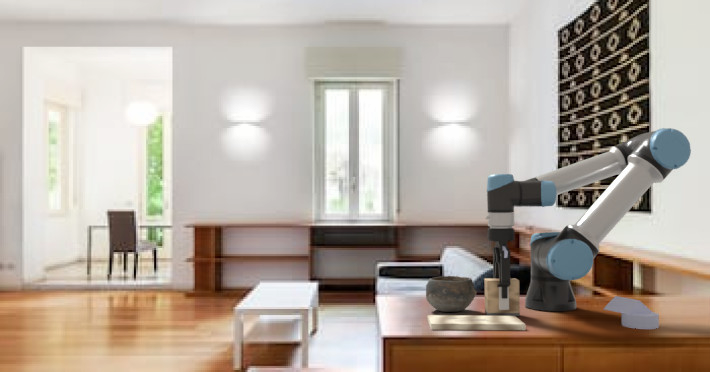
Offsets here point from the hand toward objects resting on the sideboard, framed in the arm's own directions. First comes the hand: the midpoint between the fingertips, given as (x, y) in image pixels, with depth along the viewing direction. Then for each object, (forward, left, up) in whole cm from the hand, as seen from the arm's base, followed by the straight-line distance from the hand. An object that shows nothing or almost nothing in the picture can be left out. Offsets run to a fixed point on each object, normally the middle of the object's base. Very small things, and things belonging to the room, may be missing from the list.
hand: (501, 307), depth 181 cm
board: (+10, +15, -2) cm, 18 cm away
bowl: (+14, -6, -2) cm, 16 cm away
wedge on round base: (-33, +12, -2) cm, 35 cm away
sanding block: (0, 0, -2) cm, 2 cm away
